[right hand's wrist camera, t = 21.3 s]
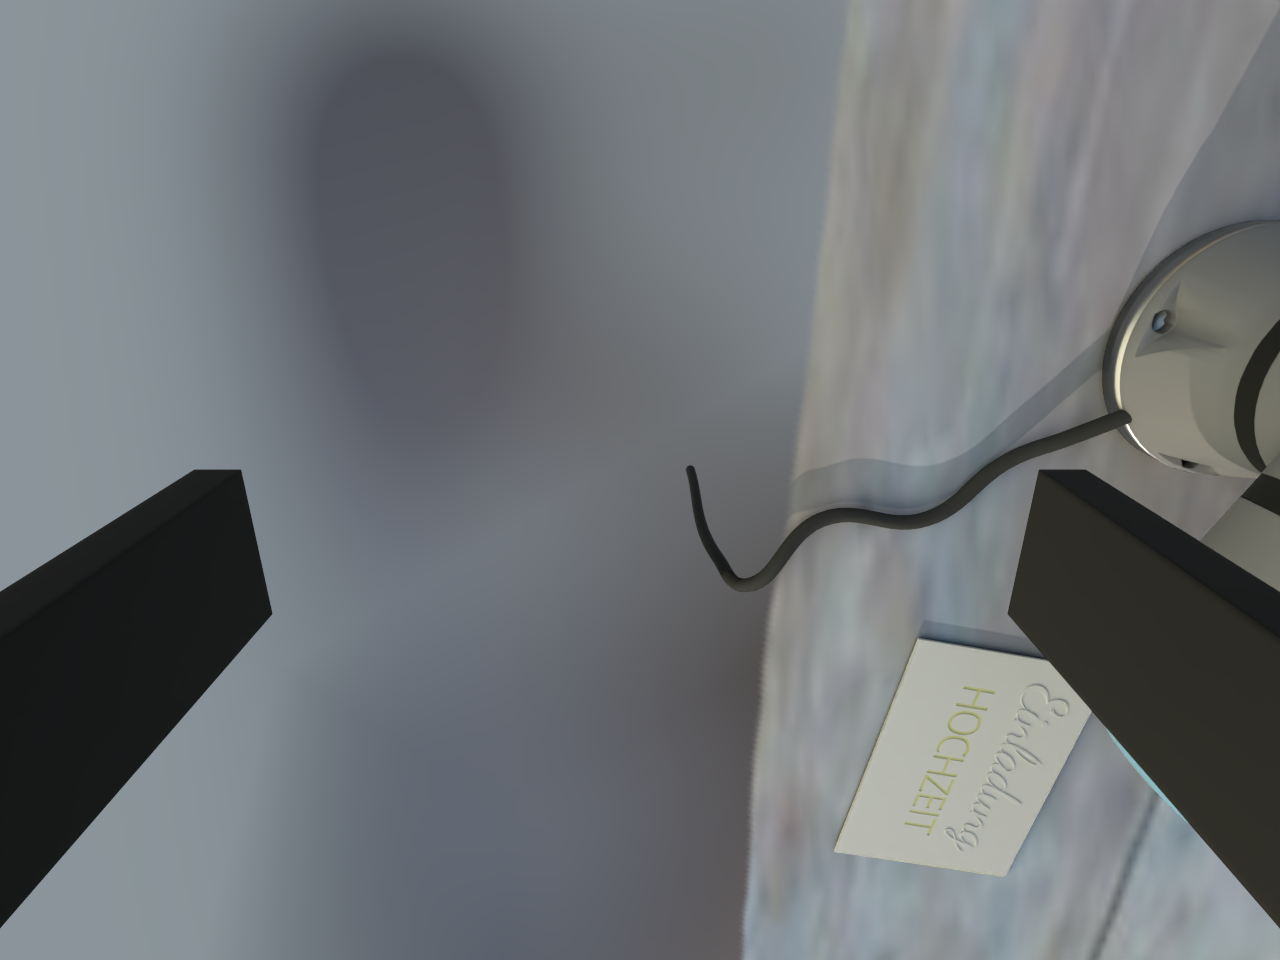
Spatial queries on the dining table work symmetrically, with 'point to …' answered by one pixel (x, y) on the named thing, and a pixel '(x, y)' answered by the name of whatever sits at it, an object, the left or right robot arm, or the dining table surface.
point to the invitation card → (963, 759)
